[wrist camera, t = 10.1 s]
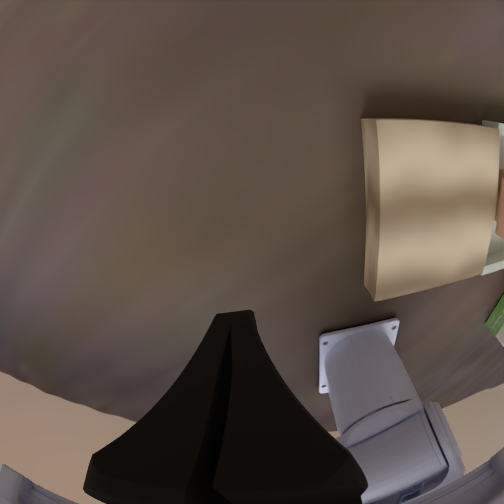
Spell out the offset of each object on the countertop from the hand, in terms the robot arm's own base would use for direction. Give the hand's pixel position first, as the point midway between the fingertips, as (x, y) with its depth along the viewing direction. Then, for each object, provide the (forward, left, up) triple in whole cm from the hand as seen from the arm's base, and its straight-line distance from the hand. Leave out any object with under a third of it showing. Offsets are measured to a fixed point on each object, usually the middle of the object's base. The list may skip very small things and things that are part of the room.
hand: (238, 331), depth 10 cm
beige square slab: (0, -15, -10) cm, 18 cm away
